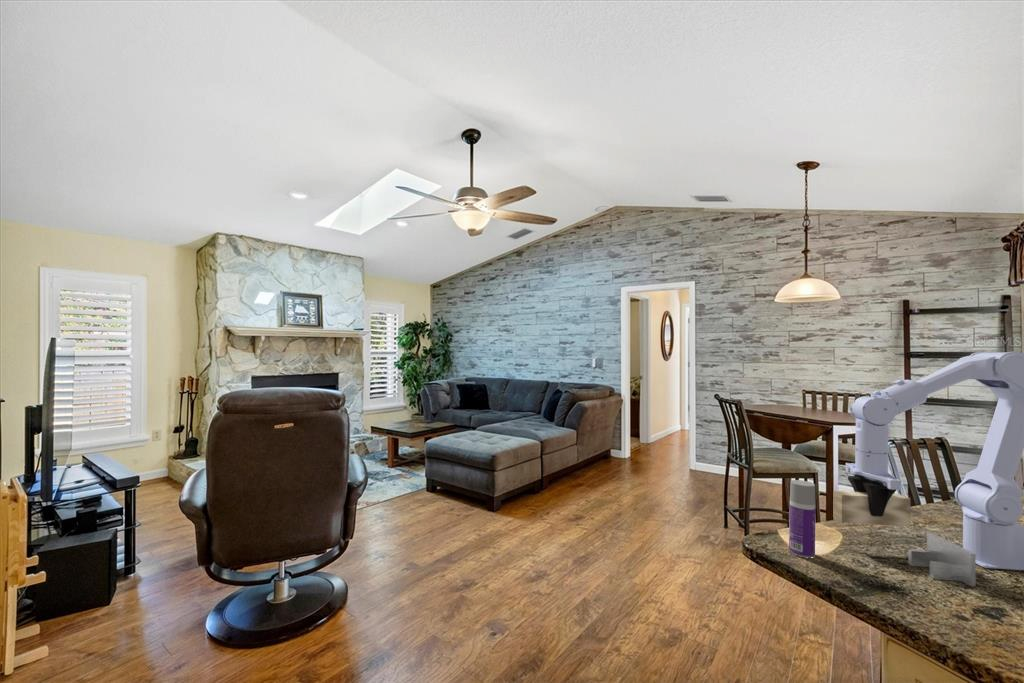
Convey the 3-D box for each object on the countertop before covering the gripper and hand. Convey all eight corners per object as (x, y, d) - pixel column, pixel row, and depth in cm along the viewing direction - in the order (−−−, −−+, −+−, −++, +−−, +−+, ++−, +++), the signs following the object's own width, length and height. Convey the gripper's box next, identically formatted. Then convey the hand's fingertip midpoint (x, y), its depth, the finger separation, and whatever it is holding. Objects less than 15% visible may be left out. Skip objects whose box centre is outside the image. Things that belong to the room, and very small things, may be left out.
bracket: (933, 561, 95) (933, 532, 95) (978, 586, 85) (978, 554, 85) (901, 559, 95) (901, 530, 95) (941, 584, 85) (942, 551, 85)
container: (819, 559, 94) (820, 487, 94) (794, 557, 95) (795, 485, 95) (809, 550, 99) (810, 480, 99) (785, 547, 100) (786, 479, 100)
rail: (899, 521, 101) (899, 494, 101) (910, 526, 98) (910, 498, 98) (833, 517, 103) (833, 490, 103) (841, 522, 100) (841, 495, 100)
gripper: (832, 443, 108) (831, 501, 108) (875, 458, 94) (874, 524, 94) (863, 445, 108) (863, 502, 107) (912, 459, 93) (911, 526, 93)
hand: (870, 512), depth 100 cm, fingers closed on rail, 3 cm apart
